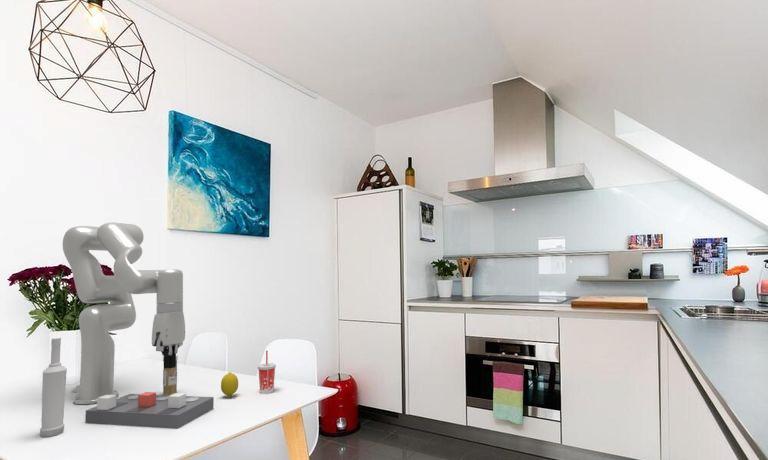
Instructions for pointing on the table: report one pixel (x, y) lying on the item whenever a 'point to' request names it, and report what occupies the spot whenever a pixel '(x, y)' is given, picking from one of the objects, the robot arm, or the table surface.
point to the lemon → (229, 384)
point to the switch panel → (150, 412)
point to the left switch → (106, 402)
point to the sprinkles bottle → (170, 379)
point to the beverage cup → (266, 376)
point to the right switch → (177, 400)
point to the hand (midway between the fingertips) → (169, 367)
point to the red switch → (147, 399)
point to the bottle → (53, 394)
